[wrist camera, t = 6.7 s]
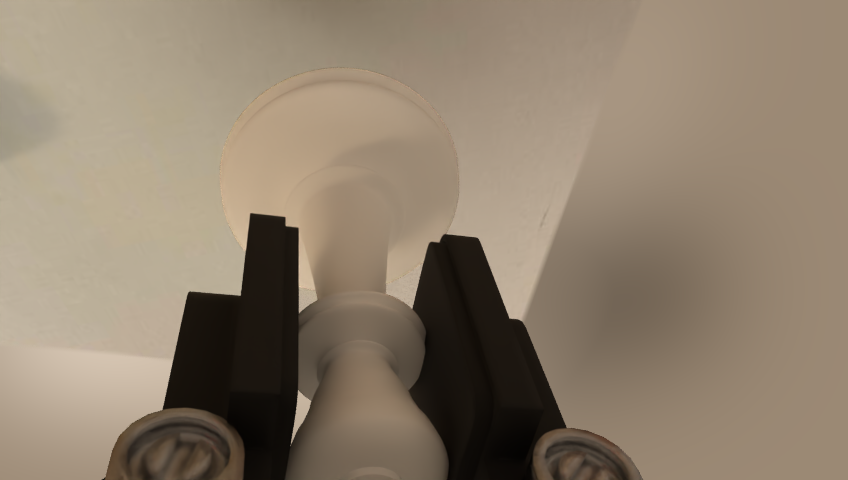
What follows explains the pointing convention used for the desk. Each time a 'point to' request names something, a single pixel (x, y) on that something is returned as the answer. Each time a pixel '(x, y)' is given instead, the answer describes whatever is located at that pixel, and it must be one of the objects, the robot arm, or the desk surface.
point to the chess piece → (351, 256)
